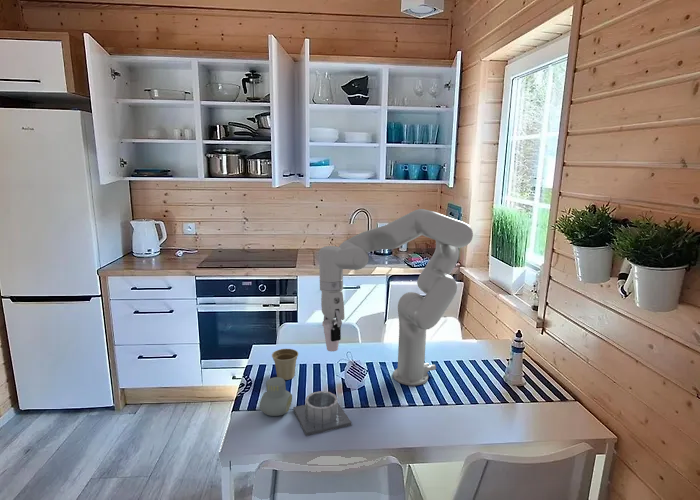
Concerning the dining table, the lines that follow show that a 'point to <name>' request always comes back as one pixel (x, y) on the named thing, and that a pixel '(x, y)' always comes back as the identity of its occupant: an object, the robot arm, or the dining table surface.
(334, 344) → the smoothie
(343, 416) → the duct collar
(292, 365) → the flower pot
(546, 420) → the dining table surface
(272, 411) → the air freshener
